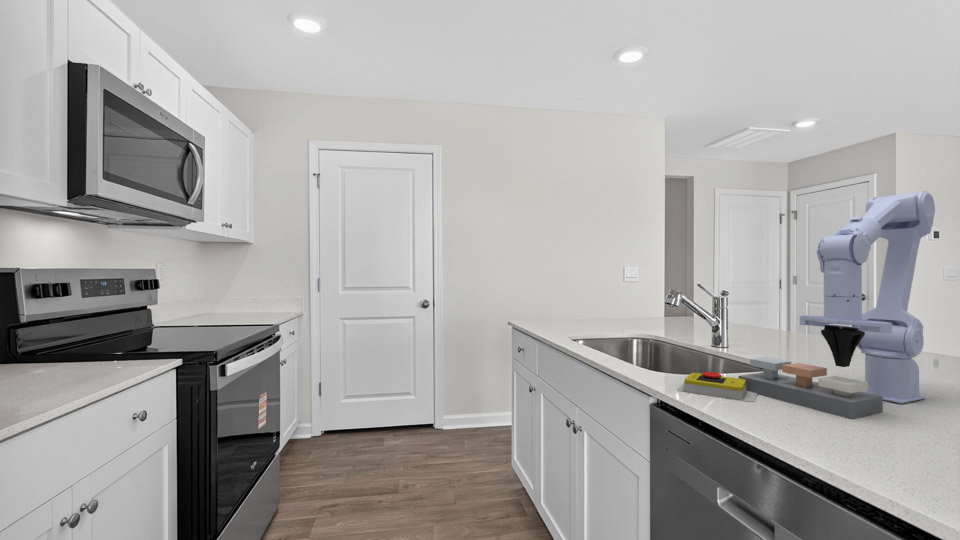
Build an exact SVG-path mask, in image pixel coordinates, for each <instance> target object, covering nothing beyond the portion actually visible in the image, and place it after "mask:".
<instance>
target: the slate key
mask: <svg viewBox="0 0 960 540" xmlns="http://www.w3.org/2000/svg"><path fill="white" fill-rule="evenodd" d="M786 364H792V361H789V360H784V359H779V358H773V357H769V356H764V357H763V356H762V357H754V358H750V366H751V367H756V368H761V369H762V371H763V378H768V379H772V380H774V379H778V374H779V371H782V365H786Z"/></svg>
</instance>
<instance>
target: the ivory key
mask: <svg viewBox="0 0 960 540" xmlns="http://www.w3.org/2000/svg"><path fill="white" fill-rule="evenodd" d="M817 382H818V386H821V387H826V388H830V389H834V394H838V395H842V396H852V393H854V392H860V391H865V390H868V382H865V380H864V381H863V380H859V379H854V378H849V377H844V376H838V375H831V376H825V377H824V376H823V377H819V378H818V381H817Z"/></svg>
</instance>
